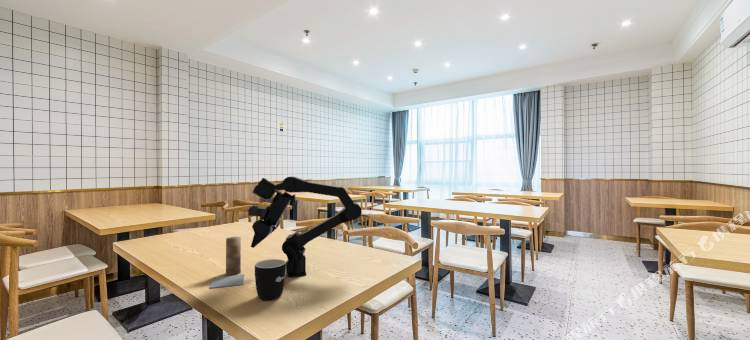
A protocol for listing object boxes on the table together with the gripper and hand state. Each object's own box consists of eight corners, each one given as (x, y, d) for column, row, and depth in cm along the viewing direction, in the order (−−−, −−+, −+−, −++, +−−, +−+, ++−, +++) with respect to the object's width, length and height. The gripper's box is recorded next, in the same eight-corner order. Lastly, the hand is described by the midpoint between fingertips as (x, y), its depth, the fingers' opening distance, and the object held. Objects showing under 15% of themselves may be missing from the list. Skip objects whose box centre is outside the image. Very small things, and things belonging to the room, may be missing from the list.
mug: (276, 304, 88) (276, 268, 88) (248, 301, 89) (248, 266, 90) (295, 288, 100) (295, 257, 100) (269, 286, 101) (270, 255, 101)
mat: (244, 275, 112) (244, 274, 112) (243, 284, 103) (243, 283, 103) (213, 278, 108) (213, 277, 108) (209, 288, 99) (209, 287, 99)
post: (240, 270, 117) (241, 236, 117) (240, 274, 113) (240, 239, 113) (226, 271, 116) (226, 237, 116) (225, 275, 111) (225, 240, 111)
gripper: (264, 194, 121) (243, 229, 120) (250, 198, 103) (226, 238, 102) (289, 208, 122) (269, 242, 121) (280, 214, 104) (256, 254, 103)
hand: (255, 244), depth 112 cm, fingers open, 9 cm apart
